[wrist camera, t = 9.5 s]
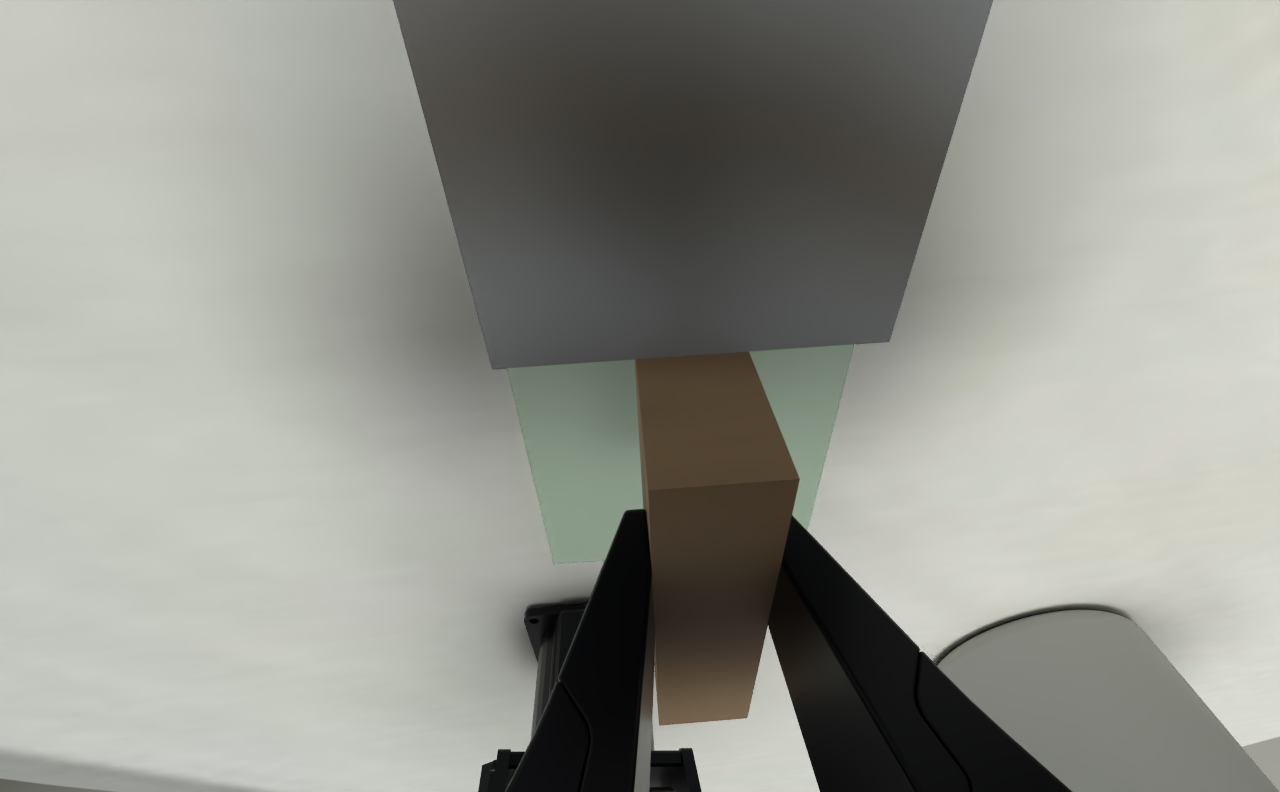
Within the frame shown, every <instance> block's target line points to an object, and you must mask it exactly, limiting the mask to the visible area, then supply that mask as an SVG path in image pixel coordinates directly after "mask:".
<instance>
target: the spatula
mask: <svg viewBox="0 0 1280 792" xmlns="http://www.w3.org/2000/svg"><path fill="white" fill-rule="evenodd" d="M393 2H394V5H395V9H396V13H397V17H398V20H399V24H400V28H401V31H402V35H403V39H404V43H405V46H406V50H407V54H408V57H409V61H410V65H411V69H412V72H413V76H414V80H415V83H416V87H417V91H418V95H419V98H420V102H421V106H422V109H423V113H424V117H425V121H426V124H427V128H428V132H429V135H430V139H431V143H432V147H433V150H434V154H435V158H436V161H437V165H438V169H439V173H440V176H441V180H442V184H443V187H444V191H445V195H446V199H447V202H448V206H449V210H450V213H451V217H452V221H453V225H454V228H455V232H456V236H457V239H458V243H459V247H460V251H461V254H462V258H463V262H464V265H465V269H466V273H467V277H468V280H469V284H470V288H471V291H472V295H473V299H474V303H475V306H476V310H477V314H478V317H479V321H480V325H481V329H482V332H483V336H484V340H485V343H486V347H487V351H488V355H489V358H490V362H491V366H492V369H505V368H520V367H534V366H549V365H563V364H578V363H592V362H606V361H621V360H635V376H636V393H637V410H638V427H639V445H640V462H641V479H642V496H643V509H645V510H646V514H647V525H648V535H649V545H650V556H651V567H652V581H653V601H654V620H655V655H654V665H655V677H656V689H657V702H658V714H659V725H671V724H682V723H694V722H706V721H718V720H730V719H741V718H747V716H748V712H749V707H750V703H751V698H752V694H753V689H754V685H755V680H756V676H757V671H758V667H759V662H760V657H761V653H762V648H763V644H764V639H765V635H766V630H767V626H768V620H769V615H770V611H771V607H772V602H773V598H774V593H775V589H776V585H777V580H778V576H779V571H780V567H781V562H782V558H783V553H784V549H785V544H786V540H787V535H788V531H789V526H790V522H791V517H792V513H793V508H794V504H795V499H796V494H797V490H798V485H799V481H800V478H799V475H798V473H797V470H796V468H795V465H794V463H793V460H792V458H791V455H790V453H789V450H788V448H787V445H786V443H785V440H784V438H783V435H782V433H781V430H780V428H779V425H778V423H777V420H776V418H775V415H774V413H773V410H772V408H771V405H770V403H769V400H768V398H767V395H766V393H765V390H764V388H763V385H762V383H761V380H760V378H759V375H758V373H757V370H756V368H755V365H754V363H753V360H752V358H751V355H750V353H749V352H751V351H765V350H779V349H794V348H808V347H823V346H837V345H852V344H866V343H880V342H889V341H890V337H891V334H892V331H893V327H894V324H895V321H896V318H897V314H898V311H899V308H900V304H901V301H902V298H903V295H904V291H905V288H906V285H907V281H908V278H909V275H910V272H911V268H912V265H913V262H914V258H915V255H916V252H917V249H918V245H919V242H920V239H921V235H922V232H923V229H924V226H925V222H926V219H927V216H928V212H929V209H930V206H931V203H932V199H933V196H934V193H935V189H936V186H937V183H938V180H939V176H940V173H941V170H942V167H943V163H944V160H945V157H946V153H947V150H948V147H949V144H950V140H951V137H952V134H953V130H954V127H955V124H956V121H957V117H958V114H959V111H960V107H961V104H962V101H963V98H964V94H965V91H966V88H967V84H968V81H969V78H970V75H971V71H972V68H973V65H974V61H975V58H976V55H977V52H978V48H979V45H980V42H981V38H982V35H983V32H984V29H985V25H986V22H987V19H988V15H989V12H990V9H991V6H992V2H993V0H393Z"/></svg>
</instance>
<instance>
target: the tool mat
mask: <svg viewBox="0 0 1280 792" xmlns="http://www.w3.org/2000/svg"><path fill="white" fill-rule="evenodd" d="M853 347H854V344H852V345H837V346H823V347H808V348H794V349H779V350H765V351H751V352H749V353H750V355H751V358H752V360H753V363H754V365H755V368H756V370H757V373H758V375H759V378H760V380H761V383H762V385H763V388H764V390H765V393H766V395H767V398H768V400H769V403H770V405H771V408H772V410H773V413H774V415H775V418H776V420H777V423H778V425H779V428H780V430H781V433H782V435H783V438H784V440H785V443H786V445H787V448H788V450H789V453H790V455H791V458H792V460H793V463H794V465H795V468H796V470H797V473H798V475H799V478H800V481H799V485H798V490H797V494H796V499H795V504H794V508H793V513H792V515H793V516H794V517H795V518H796V520H797V521H798V522H799V523H800V524H801V525H802V526H803V527H804V528H805V529H806V530H807V529H808V525H809V521H810V517H811V513H812V509H813V505H814V501H815V497H816V493H817V489H818V485H819V481H820V478H821V474H822V470H823V466H824V462H825V458H826V454H827V450H828V446H829V442H830V438H831V434H832V430H833V426H834V422H835V418H836V414H837V410H838V406H839V402H840V398H841V394H842V390H843V386H844V382H845V378H846V374H847V370H848V366H849V362H850V358H851V354H852V350H853ZM507 370H508V374H509V379H510V383H511V387H512V391H513V395H514V400H515V404H516V408H517V412H518V416H519V420H520V425H521V429H522V433H523V437H524V441H525V446H526V450H527V454H528V458H529V462H530V467H531V471H532V475H533V479H534V483H535V488H536V492H537V496H538V500H539V504H540V509H541V513H542V517H543V521H544V525H545V530H546V534H547V538H548V542H549V546H550V551H551V555H552V559H553V563H554V564H563V563H577V562H590V561H604V560H605V559H606V556H607V554H608V551H609V549H610V546H611V544H612V541H613V539H614V536H615V534H616V531H617V529H618V526H619V524H620V521H621V519H622V516H623V514H624V512H625V511H626V510H632V509H643V496H642V479H641V462H640V445H639V427H638V410H637V393H636V376H635V360H621V361H606V362H592V363H578V364H563V365H549V366H534V367H520V368H507Z"/></svg>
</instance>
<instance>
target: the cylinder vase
mask: <svg viewBox="0 0 1280 792" xmlns="http://www.w3.org/2000/svg"><path fill="white" fill-rule="evenodd" d="M938 668H939V669H940V670H941V671H942V672H943V673H944V674H945V675H946V676H947V677H948V678H949V679H950V680H951V681H952V682H953V683H954V684H955V685H956V686H957V687H958V688H959V689H960V690H961V691H962V692H963V693H964V694H965V695H966V696H967V697H968V698H969V699H970V700H971V701H972V702H974V703H975V704H976V705H977V706H978V707H979V708H980V709H981V710H982V711H983V712H984V713H985V714H987V715H988V716H989V717H990V718H991V719H992V720H993V721H994V722H995V723H996V724H997V725H998V726H1000V727H1001V728H1002V729H1003V730H1004V731H1005V732H1006V733H1007V734H1008V735H1010V736H1011V737H1012V738H1013V739H1014V740H1015V741H1016V742H1017V743H1019V744H1020V745H1021V746H1022V747H1023V748H1024V749H1025V750H1026V751H1028V752H1029V753H1030V754H1031V755H1032V756H1033V757H1034V758H1035V759H1037V760H1038V761H1039V762H1040V763H1041V764H1042V765H1043V766H1044V767H1046V768H1047V769H1048V770H1049V771H1050V772H1051V773H1052V774H1053V775H1055V776H1056V777H1057V778H1058V779H1059V780H1060V781H1061V782H1062V783H1064V784H1065V785H1066V786H1067V787H1068V788H1069V789H1070V790H1071V791H1073V792H1279V791H1278V790H1277V788H1276V787H1275V786H1274V785H1273V784H1272V783H1271V781H1270V780H1269V779H1268V778H1267V777H1266V775H1265V774H1264V773H1263V772H1262V771H1261V770H1260V768H1259V767H1258V766H1257V765H1256V763H1255V762H1254V761H1253V760H1252V759H1251V758H1250V756H1249V755H1248V754H1247V753H1246V752H1245V750H1244V749H1243V748H1242V747H1241V746H1240V744H1239V743H1238V742H1237V741H1236V740H1235V739H1234V737H1233V736H1232V735H1231V734H1230V733H1229V731H1228V730H1227V729H1226V728H1225V727H1224V725H1223V724H1222V723H1221V722H1220V721H1219V720H1218V718H1217V717H1216V716H1215V715H1214V714H1213V712H1212V711H1211V710H1210V709H1209V708H1208V706H1207V705H1206V704H1205V703H1204V702H1203V701H1202V699H1201V698H1200V697H1199V696H1198V695H1197V693H1196V692H1195V691H1194V690H1193V689H1192V687H1191V686H1190V685H1189V684H1188V683H1187V682H1186V680H1185V679H1184V678H1183V677H1182V676H1181V674H1180V673H1179V672H1178V671H1177V670H1176V668H1175V667H1174V666H1173V665H1172V664H1171V663H1170V661H1169V660H1168V659H1167V658H1166V657H1165V655H1164V654H1163V653H1162V652H1161V651H1160V650H1159V648H1158V647H1157V646H1156V645H1155V644H1154V642H1153V641H1152V640H1151V639H1150V638H1149V636H1148V635H1147V634H1146V633H1145V632H1144V631H1143V630H1142V628H1140V627H1139V626H1138V625H1137V624H1135V623H1134V622H1132V621H1131V620H1129V619H1127V618H1125V617H1122V616H1120V615H1117V614H1114V613H1109V612H1104V611H1097V610H1066V611H1056V612H1050V613H1044V614H1039V615H1034V616H1030V617H1026V618H1022V619H1019V620H1015V621H1012V622H1009V623H1006V624H1003V625H1000V626H998V627H995V628H993V629H990V630H988V631H986V632H983V633H981V634H979V635H977V636H975V637H973V638H971V639H970V640H968V641H966V642H964V643H963V644H961V645H960V646H958V647H957V648H955V649H954V650H953V651H951V652H950V653H949V654H948V655H947V656H946V657H945V658H944V659H943V660H942V661H941V662H940V663H939V664H938Z"/></svg>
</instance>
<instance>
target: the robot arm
mask: <svg viewBox="0 0 1280 792" xmlns="http://www.w3.org/2000/svg"><path fill="white" fill-rule="evenodd" d="M524 623H525V626H526V629H527V632H528V635H529V638H530V641H531V643H532V646H533V649H534V652H535V655H536V658H537V661H538V670H537V681H536V692H535V702H534V713H533V723H532V734H531V741H530V743H529V745H528V747H527V749H526V751H525V752H511V749H498V755H497V760H494V761H493V762H490V763H487V764H485V765H482V771H481V778H480V784H479V791H478V792H701V788H700V783H699V778H698V774H697V769H696V764H695V760H694V755H693V750H692V748H680V749H679V751H654V739H653V725H652V708H653V682H654V655H655V620H654V601H653V581H652V567H651V556H650V545H649V535H648V525H647V514H646V510H645V509H632V510H626V511H625V512H624V514H623V516H622V519H621V521H620V524H619V526H618V529H617V531H616V534H615V536H614V539H613V541H612V544H611V546H610V549H609V551H608V554H607V556H606V559H605V561H604V564H603V566H602V569H601V571H600V574H599V576H598V579H597V581H596V584H595V586H594V589H593V591H592V594H591V596H590V599H589V601H588V604H585V605H572V606H558V607H545V608H533V609H529V610H527V611H526V612H525V618H524ZM768 626H769V629H770V633H771V636H772V639H773V642H774V645H775V649H776V652H777V655H778V658H779V661H780V665H781V668H782V671H783V674H784V678H785V681H786V684H787V687H788V690H789V694H790V697H791V700H792V703H793V706H794V710H795V713H796V716H797V719H798V722H799V726H800V729H801V732H802V735H803V738H804V742H805V745H806V748H807V751H808V754H809V758H810V761H811V764H812V767H813V770H814V774H815V777H816V780H817V783H818V786H819V790H820V792H1073V791H1071V790H1070V789H1069V788H1068V787H1067V786H1066V785H1065V784H1064V783H1062V782H1061V781H1060V780H1059V779H1058V778H1057V777H1056V776H1055V775H1053V774H1052V773H1051V772H1050V771H1049V770H1048V769H1047V768H1046V767H1044V766H1043V765H1042V764H1041V763H1040V762H1039V761H1038V760H1037V759H1035V758H1034V757H1033V756H1032V755H1031V754H1030V753H1029V752H1028V751H1026V750H1025V749H1024V748H1023V747H1022V746H1021V745H1020V744H1019V743H1017V742H1016V741H1015V740H1014V739H1013V738H1012V737H1011V736H1010V735H1008V734H1007V733H1006V732H1005V731H1004V730H1003V729H1002V728H1001V727H1000V726H998V725H997V724H996V723H995V722H994V721H993V720H992V719H991V718H990V717H989V716H988V715H987V714H985V713H984V712H983V711H982V710H981V709H980V708H979V707H978V706H977V705H976V704H975V703H974V702H972V701H971V700H970V699H969V698H968V697H967V696H966V695H965V694H964V693H963V692H962V691H961V690H960V689H959V688H958V687H957V686H956V685H955V684H954V683H953V682H952V681H951V680H950V679H949V678H948V677H947V676H946V675H945V674H944V673H943V672H942V671H941V670H940V669H939V668H938V666H937V665H936V664H935V663H934V662H933V661H932V660H931V659H930V658H929V657H928V656H927V655H926V654H925V653H924V652H919V651H920V649H919V647H918V646H917V645H916V644H915V643H914V642H913V641H912V640H911V638H910V637H909V636H908V635H907V634H906V633H905V632H904V631H903V630H902V629H901V628H900V627H899V626H898V625H897V624H896V623H895V622H894V621H893V620H892V619H891V618H890V617H889V616H888V614H887V613H886V612H885V611H884V610H883V609H882V608H881V607H880V606H879V605H878V604H877V603H876V602H875V601H874V600H873V599H872V598H871V597H870V596H869V595H868V594H867V593H866V592H865V590H864V589H863V588H862V587H861V586H860V585H859V584H858V583H857V582H856V581H855V580H854V579H853V578H852V577H851V576H850V575H849V574H848V573H847V572H846V571H845V570H844V569H843V568H842V566H841V565H840V564H839V563H838V562H837V561H836V560H835V559H834V558H833V557H832V556H831V555H830V554H829V553H828V552H827V551H826V550H825V549H824V548H823V547H822V546H821V545H820V544H819V542H818V541H817V540H816V539H815V538H814V537H813V536H812V535H811V534H810V533H809V532H808V531H807V530H806V529H805V528H804V527H803V526H802V525H801V524H800V523H799V522H798V521H797V520H796V518H795V517H794V516H793V515H792V517H791V522H790V526H789V531H788V535H787V540H786V544H785V549H784V553H783V558H782V562H781V567H780V571H779V576H778V580H777V585H776V589H775V593H774V598H773V602H772V607H771V611H770V615H769V620H768Z"/></svg>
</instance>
